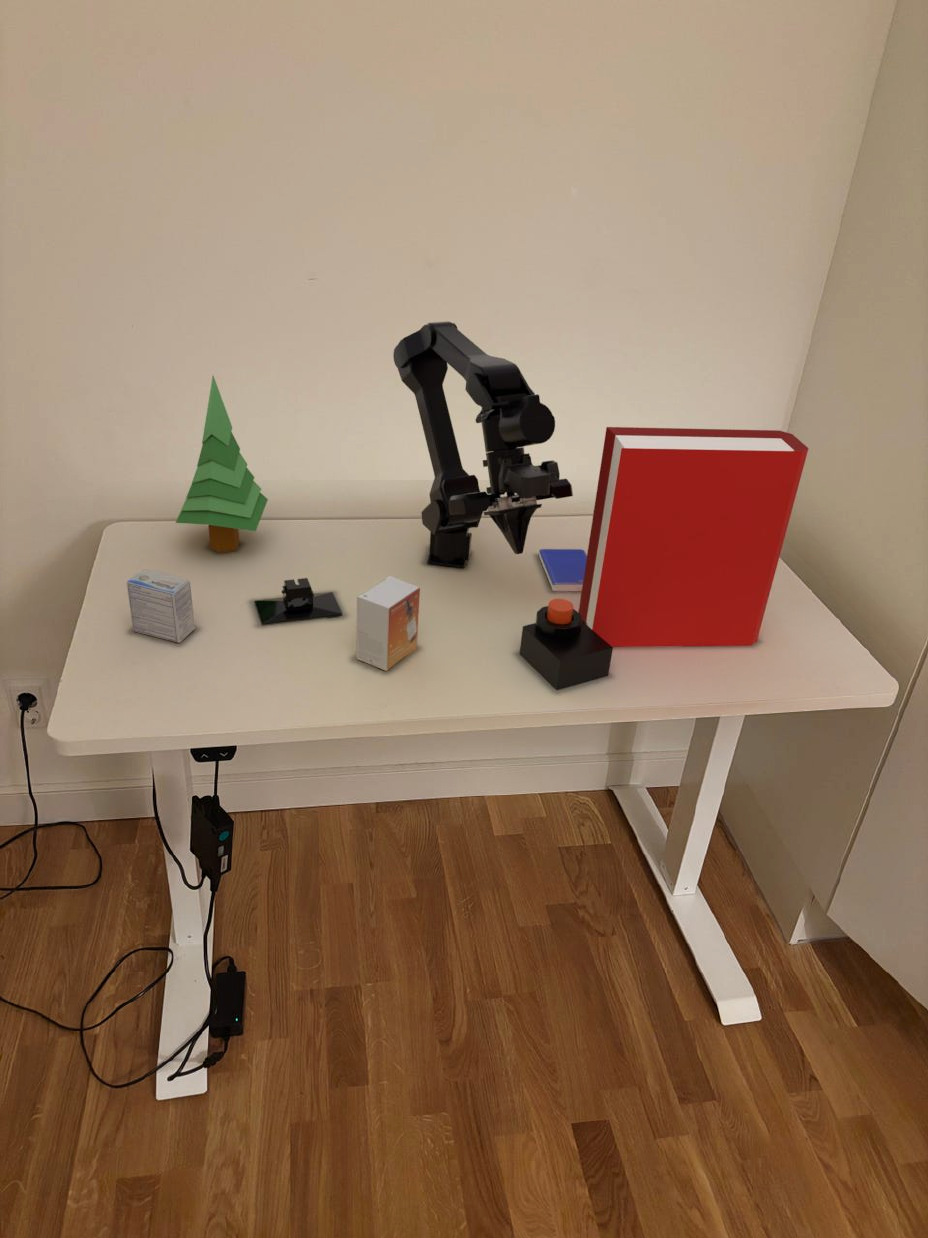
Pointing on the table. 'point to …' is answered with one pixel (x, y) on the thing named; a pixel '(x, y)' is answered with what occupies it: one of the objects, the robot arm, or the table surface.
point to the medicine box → (161, 605)
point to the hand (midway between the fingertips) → (518, 553)
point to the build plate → (297, 604)
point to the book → (688, 534)
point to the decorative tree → (222, 483)
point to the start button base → (565, 651)
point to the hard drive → (564, 568)
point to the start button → (560, 611)
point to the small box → (387, 622)
